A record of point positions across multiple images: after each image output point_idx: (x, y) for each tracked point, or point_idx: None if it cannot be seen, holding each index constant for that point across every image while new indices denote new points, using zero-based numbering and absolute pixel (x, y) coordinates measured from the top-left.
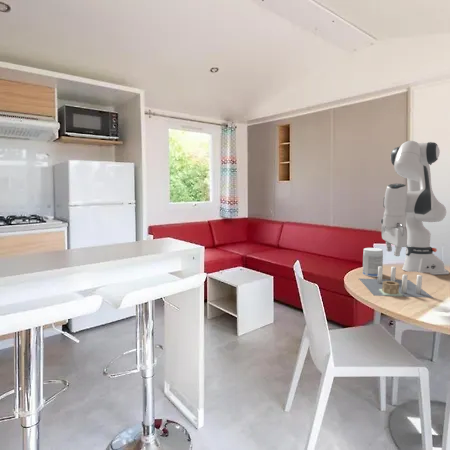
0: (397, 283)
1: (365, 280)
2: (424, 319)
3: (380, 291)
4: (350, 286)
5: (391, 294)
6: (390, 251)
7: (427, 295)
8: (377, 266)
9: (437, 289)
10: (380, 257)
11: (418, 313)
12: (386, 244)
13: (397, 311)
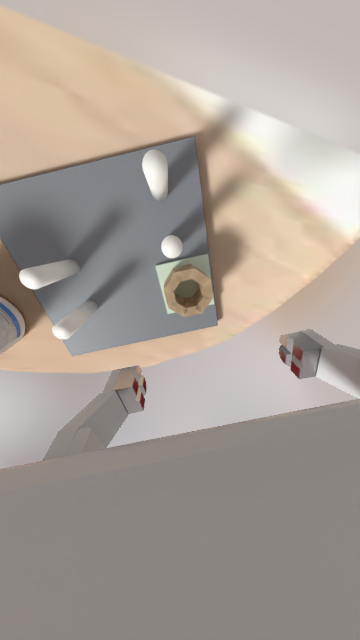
0: (189, 273)
1: (84, 340)
2: (354, 220)
3: None
4: None
5: None
6: (140, 369)
7: (174, 157)
8: None
9: (18, 62)
10: None
11: (314, 227)
12: (108, 441)
13: (301, 278)
